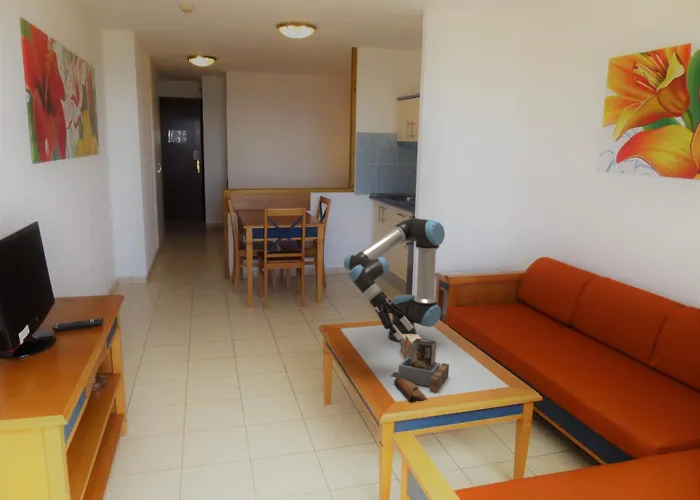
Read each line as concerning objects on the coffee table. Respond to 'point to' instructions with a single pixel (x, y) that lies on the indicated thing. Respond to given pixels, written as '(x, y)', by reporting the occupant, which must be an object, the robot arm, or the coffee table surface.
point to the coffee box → (423, 354)
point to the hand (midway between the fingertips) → (406, 333)
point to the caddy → (416, 372)
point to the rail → (395, 375)
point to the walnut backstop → (439, 377)
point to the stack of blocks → (407, 344)
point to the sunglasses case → (409, 390)
